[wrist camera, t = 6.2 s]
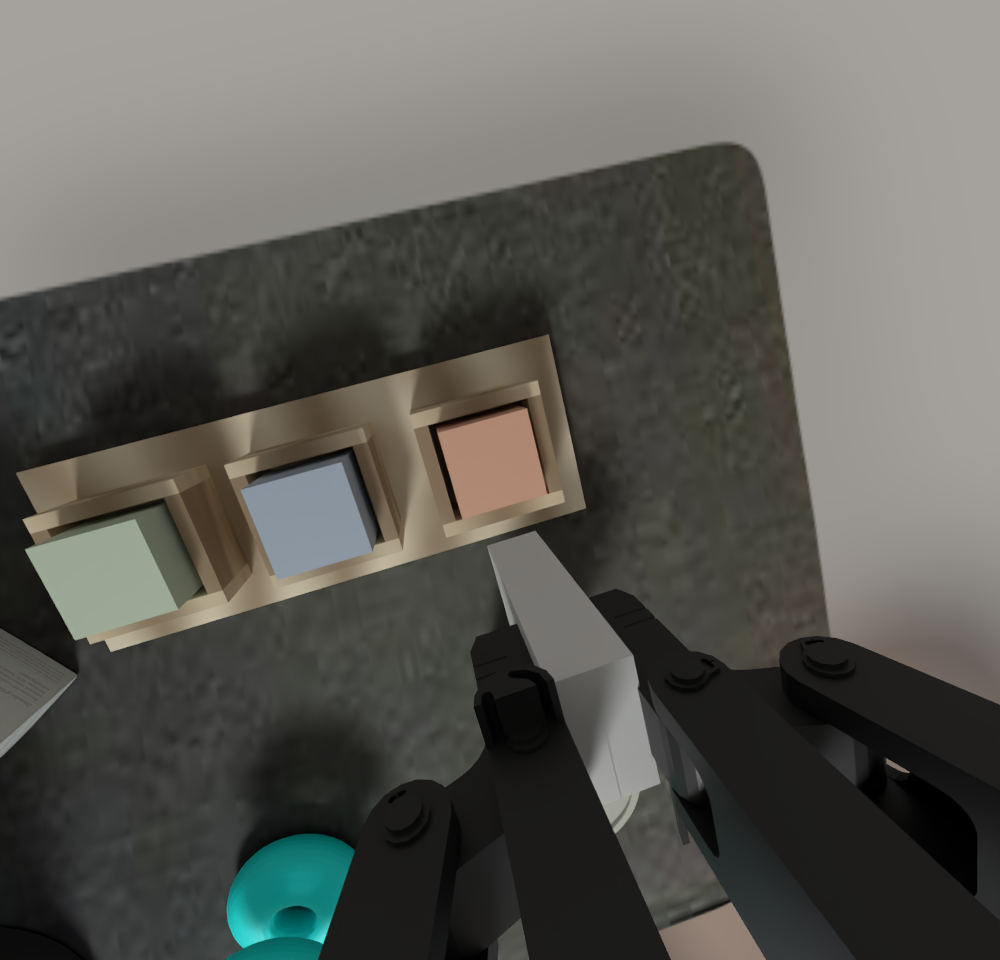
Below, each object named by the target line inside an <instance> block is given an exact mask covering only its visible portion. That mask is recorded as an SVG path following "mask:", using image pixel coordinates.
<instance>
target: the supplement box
mask: <svg viewBox="0 0 1000 960" xmlns="http://www.w3.org/2000/svg"><path fill="white" fill-rule="evenodd" d="M76 678H77V674H75V673H74V672H72V671H71V670H69V669H67V668H66V667H64V666H63V665H61V664H59V663H58V662H56V661H54V660H53V659H51V658H49V657H47V656H46V655H44V654H43V653H41V652H39V651H38V650H36V649H34V648H32V647H31V646H29V645H28V644H26V643H24V642H23V641H21V640H20V639H18V638H16V637H14V636H13V635H11V634H9V633H7V632H6V631H4V630H2V629H1V628H0V757H2V756H3V755H4V754H5V753H6V752H7V751H8V750H9V749H10V748H11V747H12V746H13V745H14V744H15V743H16V742H17V741H18V740H19V739H20V738H21V737H22V736H23V735H24V734H25V733H26V732H27V731H28V730H29V729H30V728H31V727H32V726H33V725H34V724H35V722H36V721H37V720H38V719H39V718H40V717H41V716H42V715H43V714H44V713H45V712H46V710H47V709H48V708H49V707H50V706H51V705H52V704H53V703H54V702H55V701H56V700H57V698H58V697H59V696H60V695H61V694H62V693H63V692H64V691H65V690H66V689H67V688H68V686H69V685H70V684H71V683H72V682H73V681H74V680H75V679H76Z"/></svg>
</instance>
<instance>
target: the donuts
mask: <svg viewBox="0 0 1000 960" xmlns="http://www.w3.org/2000/svg"><path fill="white" fill-rule="evenodd" d="M354 852H355V850H354V849H353V848H351V847H350V846H349V845H348V844H346V843H345V842H343V841H341V840H339V839H337V838H334V837H331V836H327V835H322V834H297V835H293V836H289V837H285V838H282V839H279V840H277V841H274V842H272V843H270V844H268V845H267V846H265V847H263V848H262V849H260V850H259V851H258V852H256V853H255V854H254V855H253V856H252V857H251V858H250V859H249V860H248V861H247V862H246V863H245V864H244V865H243V867H242V868H241V869H240V871H239V873H238V874H237V876H236V877H235V879H234V881H233V884H232V886H231V889H230V892H229V895H228V901H227V919H228V924H229V927H230V930H231V932H232V934H233V936H234V938H235V939H236V941H237V942H238V943H239V944H240V945H241V946H242V947H243V949H241V950H239V951H237V952H236V953H234V954H232V955H231V956H229V957H228V958H226V959H225V960H318V958H319V955H320V952H321V949H322V946H323V943H324V940H325V937H326V934H327V931H328V928H329V925H330V922H331V919H332V917H333V914H334V911H335V908H336V905H337V902H338V899H339V896H340V893H341V890H342V887H343V884H344V881H345V878H346V875H347V873H348V870H349V867H350V864H351V861H352V858H353V855H354ZM293 906H304V907H293Z"/></svg>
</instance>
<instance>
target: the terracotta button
mask: <svg viewBox="0 0 1000 960" xmlns="http://www.w3.org/2000/svg"><path fill="white" fill-rule="evenodd" d="M435 427H436V430H437V434H438V437H439V441H440V444H441V447H442V451H443V454H444V458H445V461H446V465H447V468H448V472H449V475H450V479H451V482H452V486H453V489H454V493H455V496H456V499H457V503H458V506H459V509H460V513H461V516H462V519H465V518H469V517H472V516H475V515H479V514H482V513H485V512H489V511H492V510H496V509H499V508H502V507H506V506H509V505H513V504H516V503H519V502H523V501H526V500H529V499H533V498H536V497H540V496H543V495H546V494H547V491H546V486H545V482H544V478H543V474H542V469H541V465H540V461H539V457H538V453H537V448H536V444H535V440H534V436H533V431H532V427H531V423H530V419H529V414H528V410H527V408H524V407H521V406H518V405H515V404H510V405H507V406H503V407H499V408H496V409H492V410H488V411H485V412H481V413H477V414H474V415H470V416H466V417H463V418H459V419H455V420H452V421H448V422H445V423H441V424H437V425H435Z"/></svg>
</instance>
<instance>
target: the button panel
mask: <svg viewBox="0 0 1000 960" xmlns="http://www.w3.org/2000/svg"><path fill="white" fill-rule="evenodd" d="M510 404H515V405H518V406H521V407H524V408H527V410H528V414H529V419H530V423H531V427H532V431H533V436H534V440H535V444H536V448H537V453H538V457H539V461H540V465H541V469H542V474H543V478H544V482H545V486H546V491H547V494H546V495H543V496H540V497H536V498H533V499H529V500H526V501H523V502H519V503H516V504H513V505H509V506H506V507H502V508H499V509H496V510H492V511H489V512H485V513H482V514H479V515H475V516H472V517H469V518H465V519H462V516H461V513H460V509H459V506H458V503H457V499H456V496H455V493H454V489H453V486H452V482H451V479H450V475H449V472H448V468H447V465H446V461H445V458H444V454H443V451H442V447H441V444H440V441H439V437H438V434H437V430H436V427H435V425H437V424H441V423H445V422H448V421H452V420H455V419H459V418H463V417H466V416H470V415H474V414H477V413H481V412H485V411H488V410H492V409H496V408H499V407H503V406H507V405H510ZM349 450H352V451H353V454H354V456H355V459H356V462H357V465H358V468H359V471H360V474H361V477H362V480H363V483H364V486H365V489H366V492H367V495H368V498H369V501H370V504H371V507H372V510H373V513H374V516H375V518H376V521H377V524H378V527H379V529H378V533H377V537H376V541H375V545H374V549H373V552H370V553H367V554H364V555H360V556H357V557H354V558H350V559H347V560H344V561H340V562H337V563H333V564H330V565H327V566H323V567H320V568H317V569H313V570H310V571H307V572H303V573H300V574H296V575H293V576H290V577H286V578H283V579H280V580H277V578H276V575H275V573H274V570H273V568H272V565H271V563H270V561H269V558H268V556H267V553H266V551H265V548H264V546H263V544H262V541H261V539H260V536H259V534H258V531H257V529H256V526H255V524H254V522H253V519H252V517H251V514H250V512H249V509H248V507H247V505H246V502H245V500H244V497H243V495H242V492H241V489H243V488H244V487H246V486H247V485H249V484H250V483H252V482H253V481H255V480H256V479H258V478H259V477H261V476H262V475H264V474H265V473H269V472H273V471H276V470H280V469H283V468H287V467H291V466H294V465H298V464H302V463H305V462H309V461H313V460H316V459H320V458H324V457H327V456H331V455H335V454H338V453H342V452H346V451H349ZM16 475H17V476H18V478H19V480H20V482H21V484H22V486H23V488H24V490H25V491H26V493H27V495H28V497H29V499H30V501H31V503H32V505H33V506H34V508H35V510H36V512H37V514H36V515H33V516H30V517H28V518H25V519H22V520H23V521H24V523H25V525H26V527H27V529H28V531H29V533H30V534H31V536H32V538H33V540H34V542H35V544H38V543H40V542H43V541H45V540H47V539H49V538H51V537H54V536H56V535H58V534H60V533H63V532H65V531H67V530H69V529H72V528H74V527H76V526H78V525H80V524H83V523H86V522H90V521H94V520H97V519H101V518H105V517H108V516H112V515H116V514H119V513H123V512H127V511H130V510H134V509H137V508H141V507H145V506H148V505H152V504H156V503H159V502H163V501H166V504H167V506H168V508H169V510H170V512H171V515H172V517H173V519H174V521H175V523H176V526H177V528H178V530H179V532H180V534H181V537H182V539H183V541H184V543H185V545H186V548H187V550H188V552H189V554H190V556H191V559H192V561H193V563H194V565H195V567H196V569H197V572H198V574H199V576H200V578H201V580H202V583H203V586H202V587H201V588H200V589H199V590H198V591H197V592H196V593H195V594H194V595H193V596H192V597H191V598H190V599H189V600H188V601H187V602H186V603H185V604H184V605H183V606H181V607H180V608H179V609H178V610H175V611H172V612H169V613H165V614H162V615H159V616H155V617H152V618H148V619H145V620H142V621H138V622H135V623H132V624H128V625H125V626H122V627H118V628H115V629H111V630H108V631H105V632H101V633H98V634H95V635H91V636H88V637H87V639H88V641H89V643H90V644H93V643H96V642H99V641H103V640H105V642H106V643H107V645H108V647H109V649H110V651H111V652H112V651H115V650H119V649H122V648H125V647H128V646H132V645H135V644H138V643H142V642H145V641H148V640H152V639H155V638H158V637H162V636H165V635H168V634H172V633H175V632H178V631H181V630H185V629H188V628H191V627H195V626H198V625H201V624H205V623H208V622H211V621H215V620H218V619H221V618H225V617H228V616H231V615H234V614H238V613H241V612H244V611H248V610H251V609H254V608H258V607H261V606H264V605H268V604H271V603H274V602H278V601H281V600H284V599H287V598H291V597H294V596H297V595H301V594H304V593H307V592H311V591H314V590H317V589H321V588H324V587H327V586H331V585H334V584H337V583H340V582H344V581H347V580H350V579H354V578H357V577H360V576H364V575H367V574H370V573H374V572H377V571H380V570H384V569H387V568H390V567H393V566H397V565H400V564H403V563H407V562H410V561H413V560H417V559H420V558H423V557H427V556H430V555H433V554H437V553H440V552H443V551H446V550H450V549H453V548H456V547H460V546H463V545H466V544H470V543H473V542H476V541H480V540H483V539H486V538H490V537H493V536H496V535H499V534H503V533H506V532H509V531H513V530H516V529H519V528H523V527H526V526H529V525H533V524H536V523H539V522H543V521H546V520H549V519H552V518H556V517H559V516H562V515H566V514H569V513H572V512H576V511H579V510H582V509H586V505H585V501H584V496H583V491H582V487H581V482H580V478H579V473H578V468H577V464H576V459H575V454H574V450H573V445H572V440H571V436H570V431H569V427H568V422H567V417H566V413H565V408H564V403H563V399H562V394H561V389H560V385H559V380H558V376H557V371H556V366H555V362H554V357H553V352H552V348H551V343H550V338H549V334H548V335H545V336H541V337H537V338H533V339H529V340H525V341H522V342H518V343H514V344H510V345H506V346H502V347H498V348H495V349H491V350H487V351H483V352H479V353H475V354H472V355H468V356H464V357H460V358H456V359H452V360H448V361H445V362H441V363H437V364H433V365H429V366H425V367H422V368H418V369H414V370H410V371H406V372H402V373H399V374H395V375H391V376H387V377H383V378H379V379H375V380H372V381H368V382H364V383H360V384H356V385H352V386H349V387H345V388H341V389H337V390H333V391H329V392H325V393H322V394H318V395H314V396H310V397H306V398H302V399H299V400H295V401H291V402H287V403H283V404H279V405H275V406H272V407H268V408H264V409H260V410H256V411H252V412H249V413H245V414H241V415H237V416H233V417H229V418H226V419H222V420H218V421H214V422H210V423H206V424H202V425H199V426H195V427H191V428H187V429H183V430H179V431H176V432H172V433H168V434H164V435H160V436H156V437H152V438H149V439H145V440H141V441H137V442H133V443H129V444H126V445H122V446H118V447H114V448H110V449H106V450H102V451H99V452H95V453H91V454H87V455H83V456H79V457H76V458H72V459H68V460H64V461H60V462H56V463H53V464H49V465H45V466H41V467H37V468H33V469H29V470H26V471H22V472H18V473H16Z"/></svg>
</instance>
